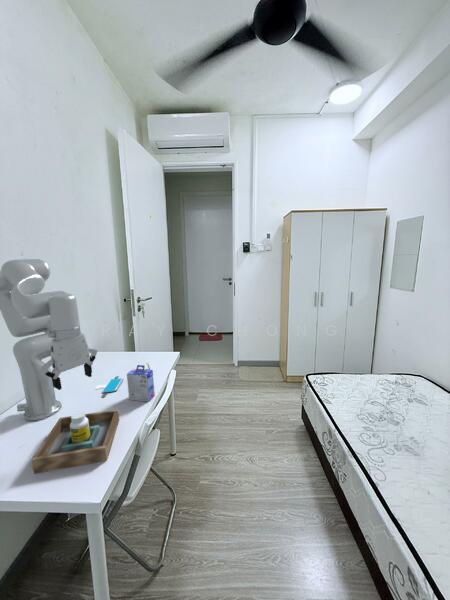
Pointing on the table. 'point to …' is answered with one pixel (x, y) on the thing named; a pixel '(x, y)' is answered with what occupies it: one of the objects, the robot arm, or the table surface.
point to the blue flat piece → (110, 386)
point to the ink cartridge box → (140, 384)
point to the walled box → (66, 454)
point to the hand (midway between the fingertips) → (74, 381)
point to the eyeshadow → (148, 366)
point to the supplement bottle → (79, 428)
